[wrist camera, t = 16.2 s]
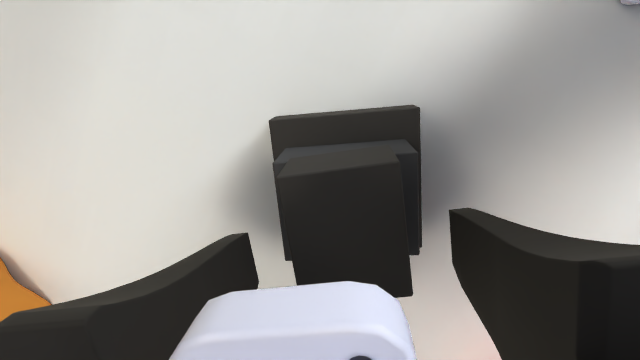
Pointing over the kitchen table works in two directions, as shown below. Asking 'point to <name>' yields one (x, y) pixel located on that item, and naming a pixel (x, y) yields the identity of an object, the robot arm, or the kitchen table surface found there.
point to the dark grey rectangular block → (347, 219)
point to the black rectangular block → (399, 147)
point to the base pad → (349, 131)
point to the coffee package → (16, 295)
